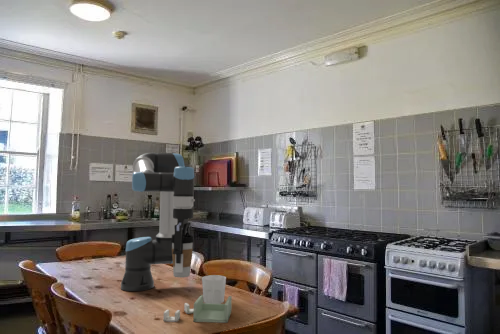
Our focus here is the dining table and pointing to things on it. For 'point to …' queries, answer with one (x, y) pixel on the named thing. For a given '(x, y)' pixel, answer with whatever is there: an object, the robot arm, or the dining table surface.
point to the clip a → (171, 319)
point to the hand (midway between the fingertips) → (181, 269)
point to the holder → (211, 311)
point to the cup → (213, 289)
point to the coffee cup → (184, 256)
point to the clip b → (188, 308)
